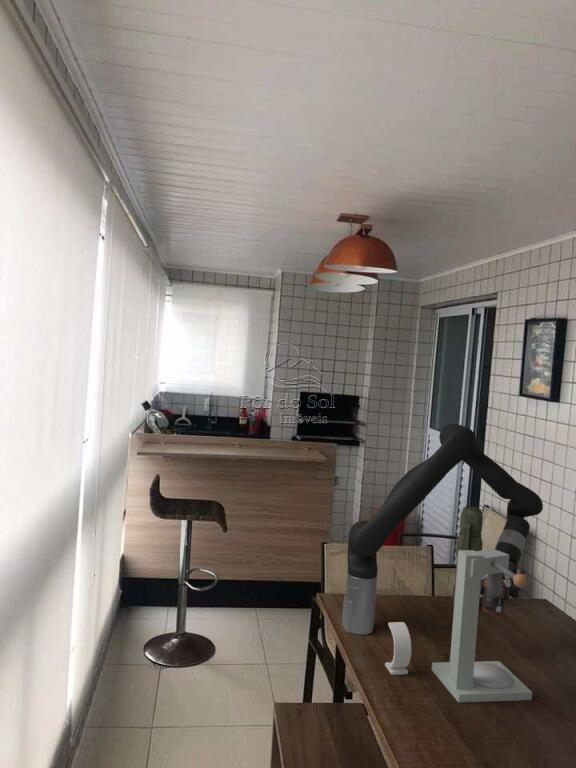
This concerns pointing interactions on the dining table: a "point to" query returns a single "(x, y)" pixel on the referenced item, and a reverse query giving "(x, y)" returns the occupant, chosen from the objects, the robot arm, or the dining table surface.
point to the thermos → (469, 533)
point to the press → (462, 670)
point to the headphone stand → (400, 648)
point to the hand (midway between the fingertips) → (491, 596)
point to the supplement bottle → (492, 601)
